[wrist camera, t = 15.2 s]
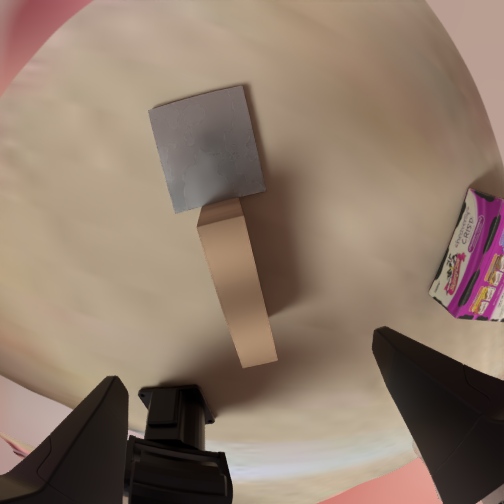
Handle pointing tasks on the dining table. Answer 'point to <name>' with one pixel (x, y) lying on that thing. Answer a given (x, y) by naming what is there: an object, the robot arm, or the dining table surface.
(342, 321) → the dining table surface
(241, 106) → the turner
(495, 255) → the candy bar box
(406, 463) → the dining table surface
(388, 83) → the dining table surface
